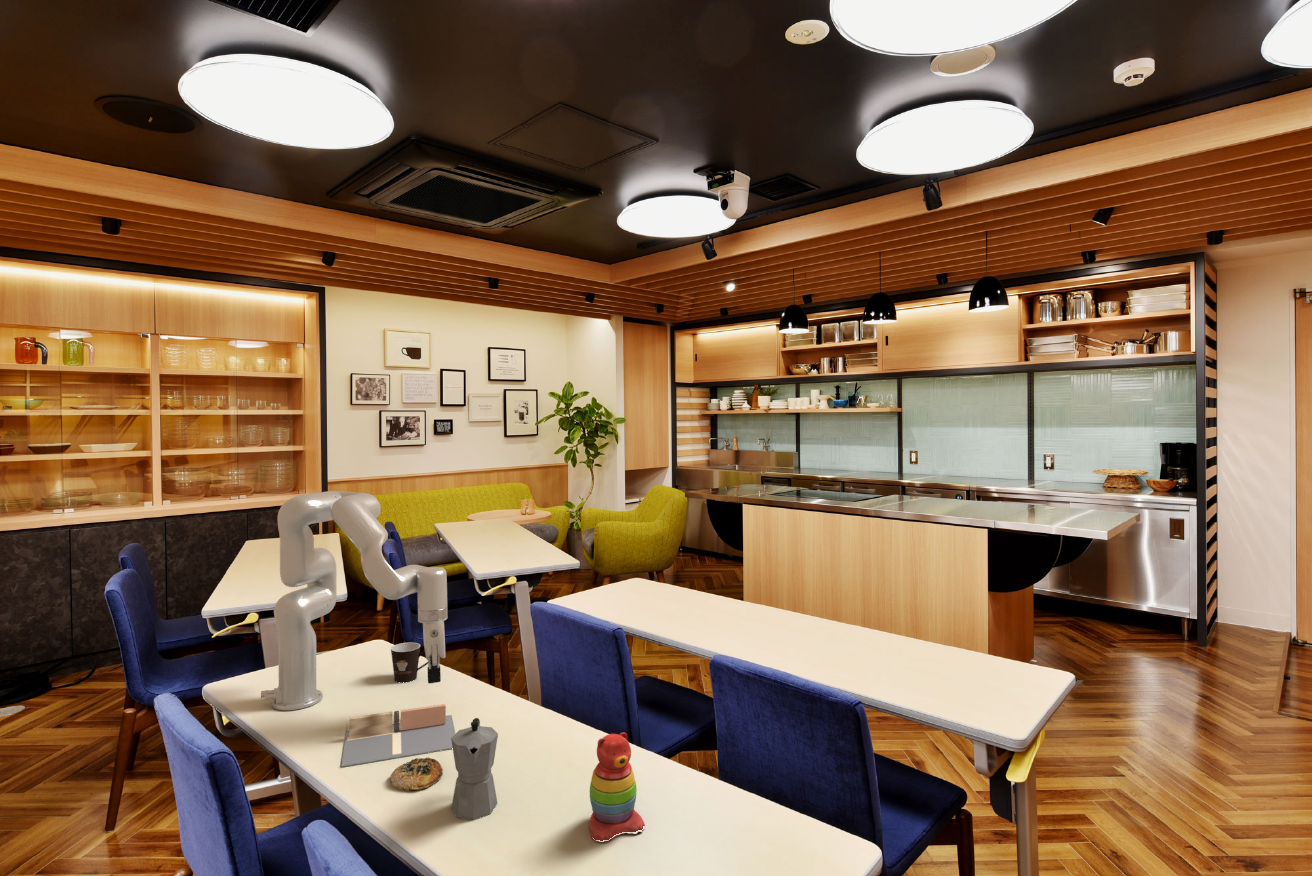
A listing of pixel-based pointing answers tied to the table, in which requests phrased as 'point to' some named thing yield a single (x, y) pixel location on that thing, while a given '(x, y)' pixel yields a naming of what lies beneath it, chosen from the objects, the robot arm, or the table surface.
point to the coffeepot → (474, 771)
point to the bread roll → (417, 774)
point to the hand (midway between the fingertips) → (434, 681)
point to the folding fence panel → (423, 717)
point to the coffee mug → (406, 661)
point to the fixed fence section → (373, 725)
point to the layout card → (398, 744)
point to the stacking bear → (613, 790)
